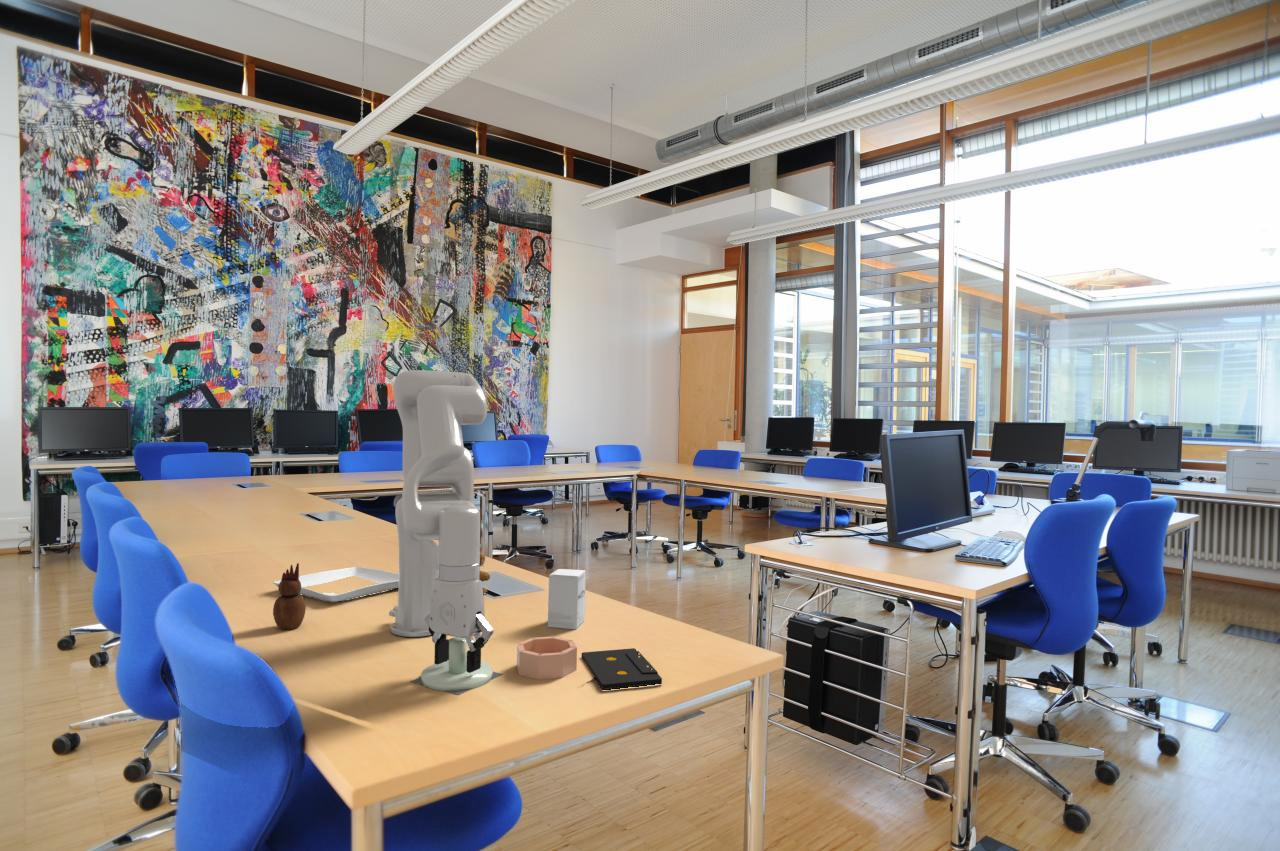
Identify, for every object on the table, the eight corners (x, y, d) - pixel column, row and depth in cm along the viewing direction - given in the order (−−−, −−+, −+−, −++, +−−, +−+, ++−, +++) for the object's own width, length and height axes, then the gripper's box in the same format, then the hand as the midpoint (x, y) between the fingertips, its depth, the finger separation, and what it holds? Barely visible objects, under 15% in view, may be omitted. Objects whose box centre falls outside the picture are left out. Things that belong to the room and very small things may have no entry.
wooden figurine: (310, 626, 165) (311, 562, 165) (288, 633, 160) (289, 566, 160) (290, 622, 168) (290, 559, 168) (268, 628, 163) (269, 563, 163)
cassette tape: (662, 688, 133) (662, 677, 133) (602, 694, 129) (602, 682, 129) (634, 657, 150) (634, 646, 150) (581, 661, 146) (581, 651, 146)
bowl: (505, 674, 137) (506, 648, 137) (541, 657, 146) (541, 633, 146) (552, 685, 131) (552, 659, 131) (585, 668, 141) (586, 643, 141)
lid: (405, 681, 131) (406, 642, 130) (456, 661, 142) (456, 625, 142) (458, 696, 124) (459, 655, 124) (506, 673, 135) (507, 636, 135)
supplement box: (577, 629, 166) (578, 576, 166) (546, 627, 168) (547, 574, 168) (585, 621, 174) (586, 569, 173) (556, 618, 175) (557, 567, 175)
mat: (409, 684, 131) (409, 681, 131) (456, 665, 141) (456, 662, 141) (458, 698, 125) (458, 694, 125) (503, 677, 135) (503, 674, 135)
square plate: (416, 589, 204) (416, 575, 204) (330, 610, 181) (330, 594, 181) (357, 576, 218) (357, 563, 218) (270, 594, 195) (270, 580, 195)
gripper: (410, 570, 134) (409, 663, 134) (480, 582, 125) (478, 681, 125) (439, 563, 140) (438, 652, 141) (508, 574, 132) (506, 669, 132)
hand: (457, 665), depth 133 cm, fingers open, 7 cm apart
